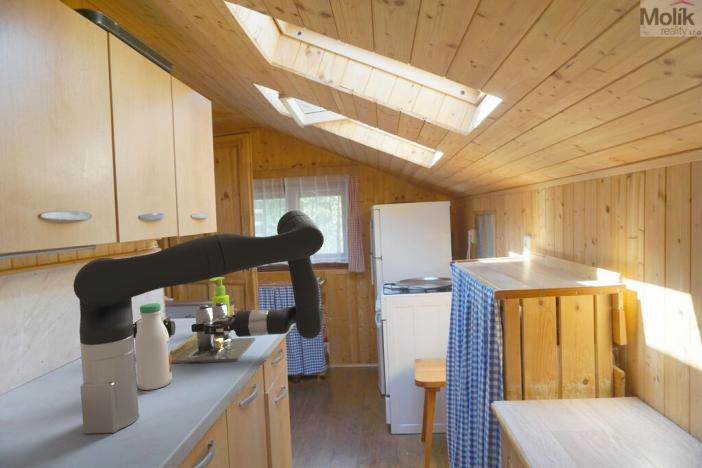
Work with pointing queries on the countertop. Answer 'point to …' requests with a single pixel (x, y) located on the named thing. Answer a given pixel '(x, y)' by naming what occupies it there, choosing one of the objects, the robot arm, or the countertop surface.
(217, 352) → the carrier plate
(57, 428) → the countertop surface
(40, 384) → the countertop surface
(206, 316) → the cylinder
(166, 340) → the milk bottle
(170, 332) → the pneumatic valve
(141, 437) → the countertop surface
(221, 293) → the soap dispenser
